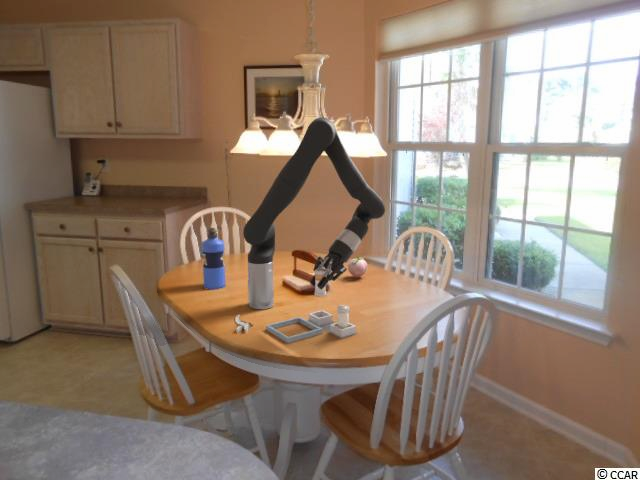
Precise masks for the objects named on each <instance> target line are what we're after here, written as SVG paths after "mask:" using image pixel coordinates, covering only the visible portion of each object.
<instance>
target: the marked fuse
mask: <svg viewBox="0 0 640 480" xmlns="http://www.w3.org/2000/svg"><path fill="white" fill-rule="evenodd" d="M325 273H326V270H325V268H324V269H318V268H317V269H316V270H315V272H314V275H315V286H314V296H315V297H321V298H322V297H326V296H327V290H326V289H327V284H326V285H325V287H324V288H323V289H320V288H319V287H317V285H318V283H319V282H320V280H321V279H322V278H323V277H324V275H325Z"/></svg>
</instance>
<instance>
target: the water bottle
mask: <svg viewBox="0 0 640 480" xmlns="http://www.w3.org/2000/svg"><path fill="white" fill-rule="evenodd" d="M206 235H207V239H206V240H204V241H201V243H200V244H201V253H202V258H203V262H202V263H203V265H202V275H203V276H202V277H203V288H204V287H205V288H204V289H206V288H207V290H219V288H221V289H224V288H225V287H226V265H225V261H224V254H225V241H224V240H222V239H219V238H218V230H217V229H216V228H215V227H210V228H209V229H208V230H207V234H206ZM223 287H224V288H223Z"/></svg>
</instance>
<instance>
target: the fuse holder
mask: <svg viewBox="0 0 640 480" xmlns="http://www.w3.org/2000/svg"><path fill="white" fill-rule="evenodd" d="M333 316H334V315H333V314H331V313H329V312H327V311H325V310H318V311H314V312H311V313H308V319H306V320H307V321H309V322H311V323H313V324H314V325H316V326H318V327H320V328H322V329H323V331H325V332H327V333H329V334H331V335H332V336H335V337H336V338H338V339H340V340H343V339H346V338H349V337H352V336H356V335H358V334H359V333H358V332H357V326H356V325H355V324H352V323H350V322H349V327H348V328H344V329H341V328H339V327H338V322H335V321H334V317H333Z"/></svg>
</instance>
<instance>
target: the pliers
mask: <svg viewBox="0 0 640 480" xmlns="http://www.w3.org/2000/svg"><path fill="white" fill-rule="evenodd" d="M240 316H241V315H240V314H237V315H236V316H235V318H234V320H235V321H234V322H235V324H236V325H238V326H237V328H236V329H235V333H237V334H238V333H239V331H240V332H241V331H242V330H244V334H247V333H248V330H249V328H251V327H253V326H254V325H253V324H252V323H251V322H248V323H246V321H245V320H242V319H240Z"/></svg>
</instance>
